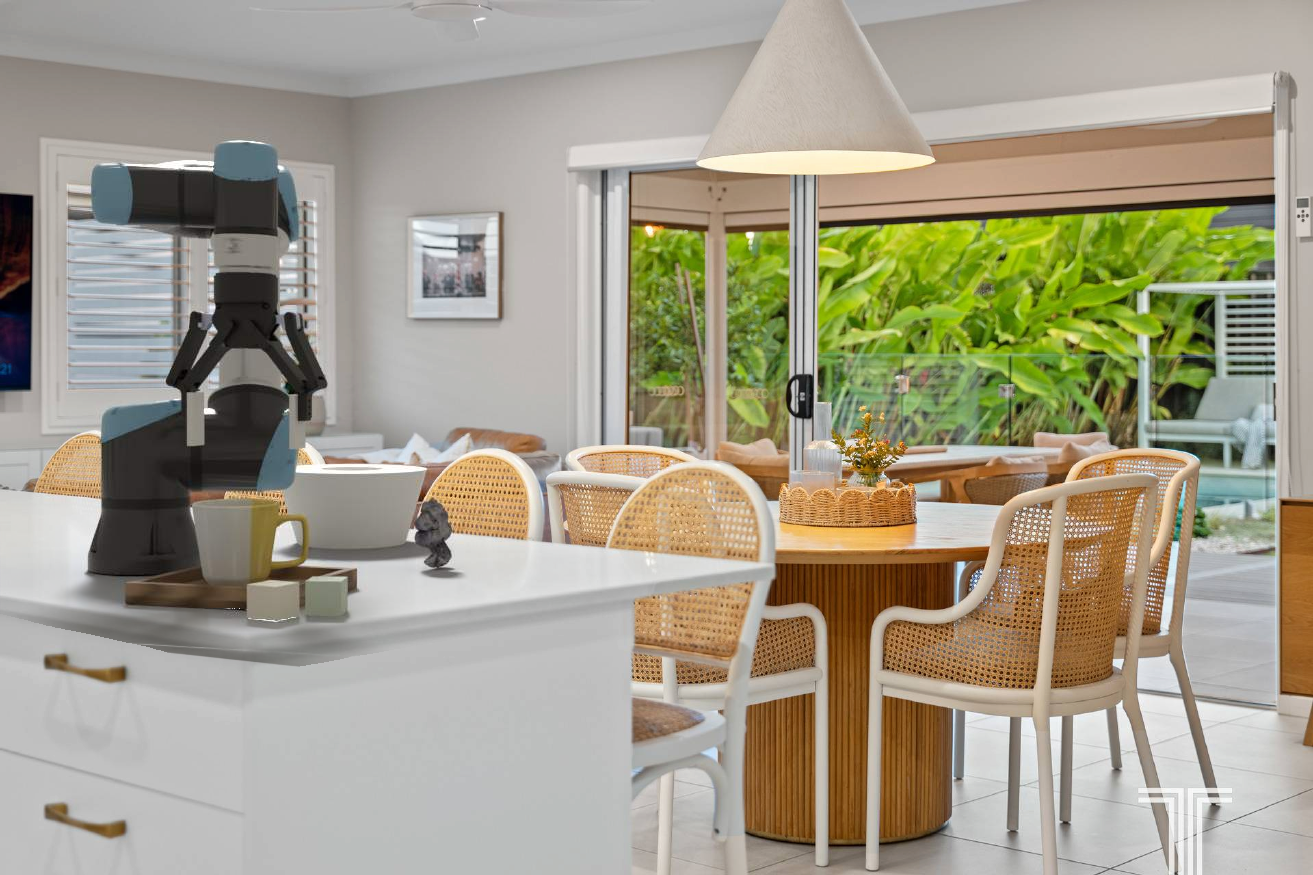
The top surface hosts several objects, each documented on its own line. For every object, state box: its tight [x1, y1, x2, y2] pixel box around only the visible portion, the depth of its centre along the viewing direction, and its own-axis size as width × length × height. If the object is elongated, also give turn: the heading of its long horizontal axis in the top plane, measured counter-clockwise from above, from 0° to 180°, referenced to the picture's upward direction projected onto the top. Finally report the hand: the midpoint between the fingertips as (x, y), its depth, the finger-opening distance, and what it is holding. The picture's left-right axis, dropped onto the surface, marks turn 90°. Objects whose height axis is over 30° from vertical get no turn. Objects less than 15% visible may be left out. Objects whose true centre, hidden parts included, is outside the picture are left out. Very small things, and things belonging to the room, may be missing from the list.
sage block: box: [304, 577, 349, 617], centre depth 164 cm, size 4×4×4 cm
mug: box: [191, 497, 310, 587], centre depth 176 cm, size 14×10×10 cm
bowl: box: [281, 463, 428, 550], centre depth 233 cm, size 24×24×12 cm
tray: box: [124, 565, 358, 610], centre depth 176 cm, size 20×20×2 cm
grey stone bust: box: [413, 496, 453, 569], centre depth 204 cm, size 5×5×10 cm
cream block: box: [246, 580, 300, 621], centre depth 160 cm, size 4×4×4 cm
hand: (246, 447), depth 176 cm, fingers open, 13 cm apart
